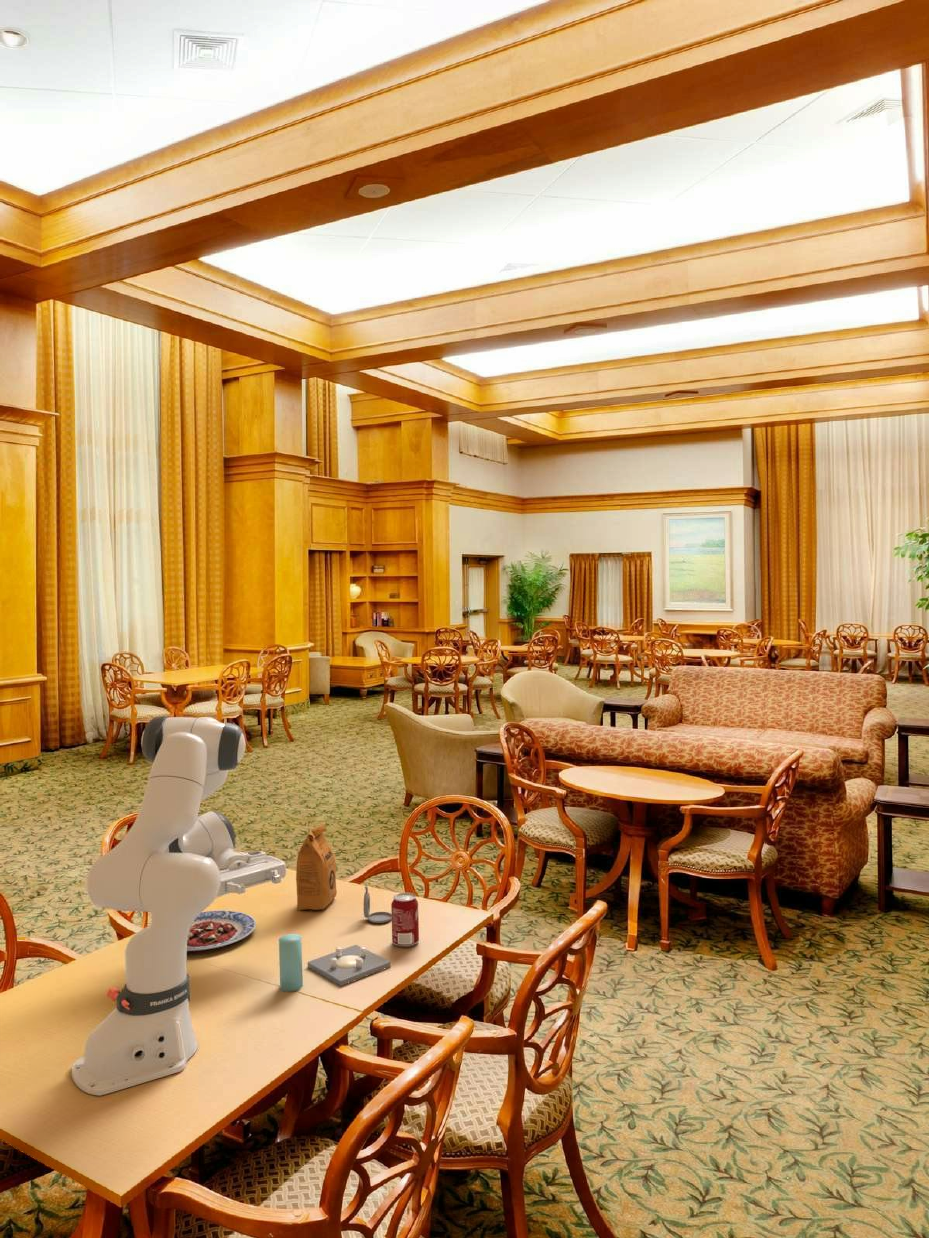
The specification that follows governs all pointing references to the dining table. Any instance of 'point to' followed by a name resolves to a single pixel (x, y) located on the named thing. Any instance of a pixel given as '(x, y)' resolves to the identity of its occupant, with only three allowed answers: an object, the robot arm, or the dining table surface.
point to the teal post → (290, 962)
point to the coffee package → (315, 872)
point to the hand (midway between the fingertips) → (260, 884)
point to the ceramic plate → (219, 929)
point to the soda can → (405, 920)
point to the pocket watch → (377, 916)
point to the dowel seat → (348, 964)
